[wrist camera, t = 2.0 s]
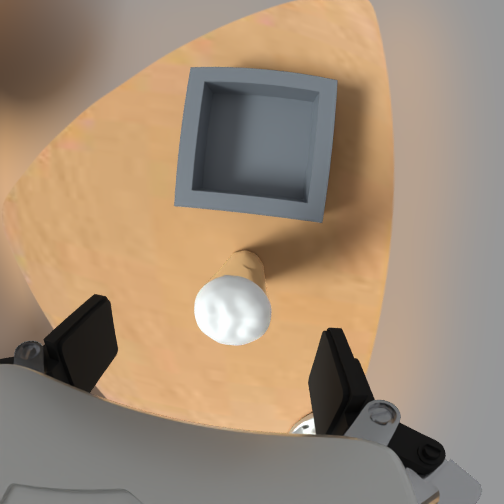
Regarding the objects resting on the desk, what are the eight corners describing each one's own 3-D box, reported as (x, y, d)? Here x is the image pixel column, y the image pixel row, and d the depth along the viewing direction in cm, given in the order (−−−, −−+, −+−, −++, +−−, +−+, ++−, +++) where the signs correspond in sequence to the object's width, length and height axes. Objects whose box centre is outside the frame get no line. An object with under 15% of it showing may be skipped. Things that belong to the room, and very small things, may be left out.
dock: (314, 215, 22) (322, 222, 18) (188, 201, 22) (174, 206, 19) (327, 94, 19) (337, 80, 16) (202, 82, 19) (190, 67, 16)
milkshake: (273, 234, 23) (276, 278, 13) (269, 294, 24) (267, 366, 14) (218, 231, 23) (183, 271, 13) (217, 290, 24) (187, 358, 15)
